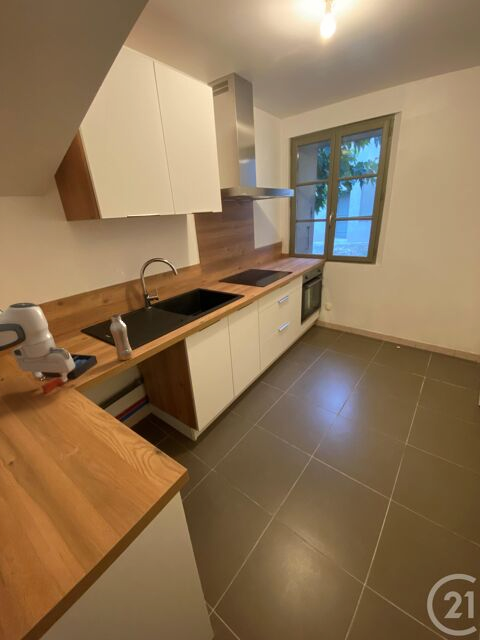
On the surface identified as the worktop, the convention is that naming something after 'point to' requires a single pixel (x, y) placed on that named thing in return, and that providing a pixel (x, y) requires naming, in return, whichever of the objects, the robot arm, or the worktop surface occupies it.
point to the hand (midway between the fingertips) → (53, 380)
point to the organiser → (80, 369)
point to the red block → (52, 384)
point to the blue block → (79, 363)
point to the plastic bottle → (120, 338)
